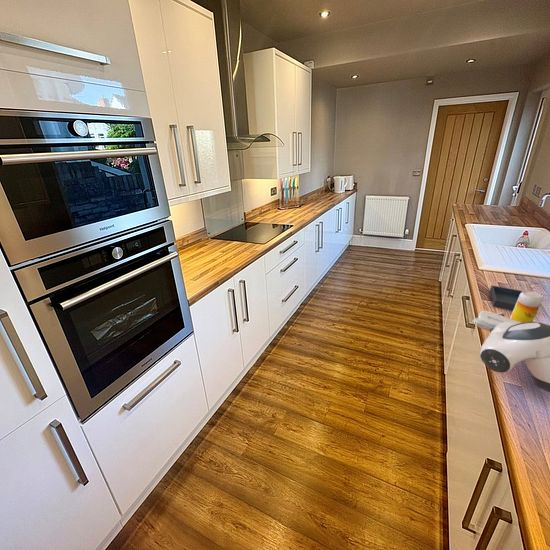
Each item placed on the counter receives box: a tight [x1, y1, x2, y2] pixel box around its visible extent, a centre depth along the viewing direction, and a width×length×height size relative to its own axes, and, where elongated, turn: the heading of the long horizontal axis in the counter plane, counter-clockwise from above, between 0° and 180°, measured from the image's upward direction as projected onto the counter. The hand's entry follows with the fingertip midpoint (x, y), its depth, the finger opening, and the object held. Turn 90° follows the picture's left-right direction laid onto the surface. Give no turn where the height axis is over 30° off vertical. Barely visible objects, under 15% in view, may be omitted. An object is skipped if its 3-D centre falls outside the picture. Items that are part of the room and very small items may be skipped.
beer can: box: [510, 290, 543, 323], centre depth 103 cm, size 6×6×15 cm
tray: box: [489, 285, 523, 312], centre depth 124 cm, size 11×15×3 cm
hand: (519, 319), depth 97 cm, fingers open, 8 cm apart
